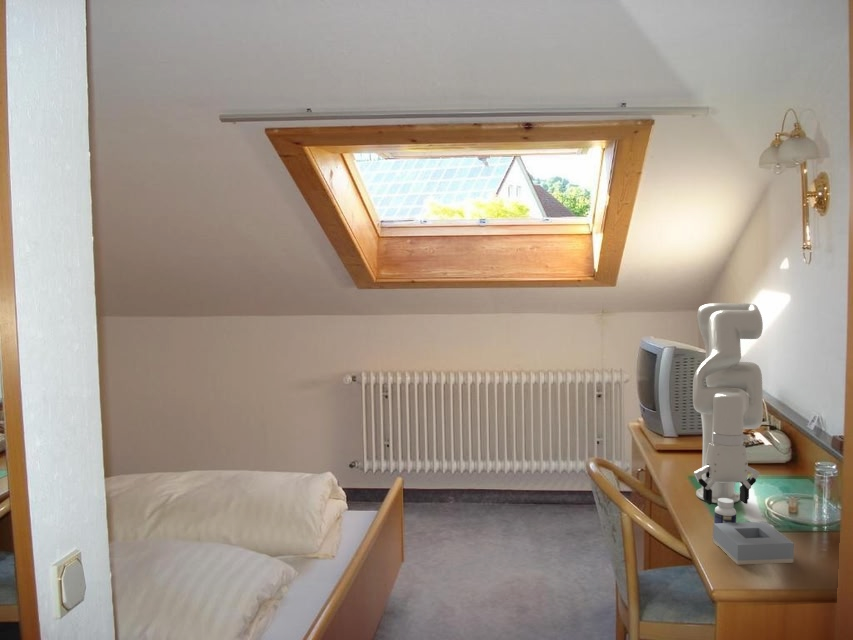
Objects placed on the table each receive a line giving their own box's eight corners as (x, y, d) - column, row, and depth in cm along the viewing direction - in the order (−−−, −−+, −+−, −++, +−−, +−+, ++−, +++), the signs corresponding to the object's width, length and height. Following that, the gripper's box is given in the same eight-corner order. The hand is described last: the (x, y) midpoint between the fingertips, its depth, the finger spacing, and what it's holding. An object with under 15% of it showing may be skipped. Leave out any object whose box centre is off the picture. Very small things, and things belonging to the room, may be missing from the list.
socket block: (712, 541, 196) (713, 523, 195) (764, 540, 197) (765, 521, 196) (737, 564, 182) (737, 545, 181) (793, 562, 183) (793, 543, 182)
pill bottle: (722, 540, 197) (723, 504, 196) (709, 532, 202) (710, 497, 201) (739, 537, 198) (741, 502, 197) (726, 530, 203) (727, 495, 202)
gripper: (752, 435, 201) (750, 497, 203) (689, 436, 200) (688, 498, 202) (766, 442, 194) (764, 506, 195) (701, 443, 193) (699, 507, 194)
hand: (725, 502), depth 198 cm, fingers open, 9 cm apart
